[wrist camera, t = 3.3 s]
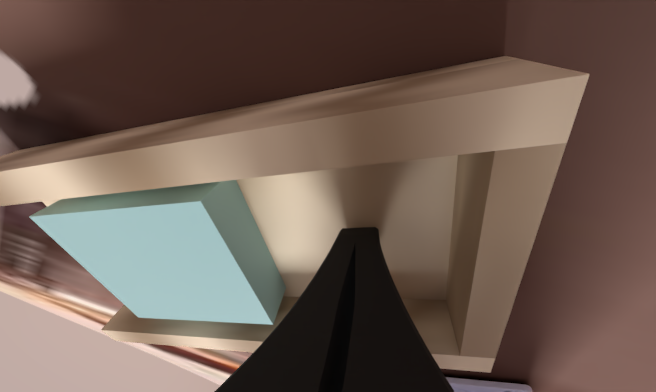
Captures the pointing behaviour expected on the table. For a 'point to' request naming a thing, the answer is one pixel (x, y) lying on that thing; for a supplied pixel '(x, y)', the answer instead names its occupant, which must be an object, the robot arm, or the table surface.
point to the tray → (355, 190)
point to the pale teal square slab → (173, 251)
